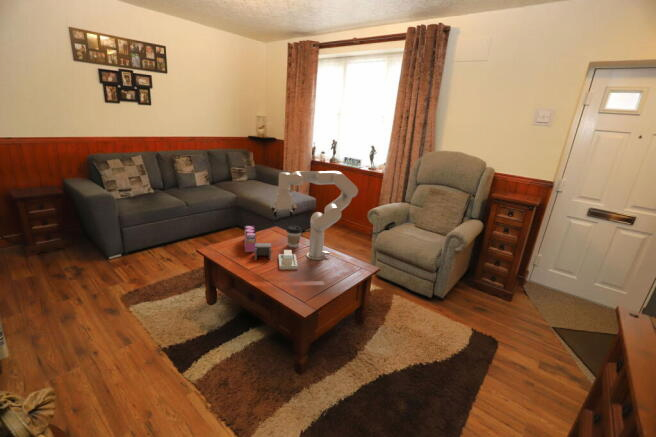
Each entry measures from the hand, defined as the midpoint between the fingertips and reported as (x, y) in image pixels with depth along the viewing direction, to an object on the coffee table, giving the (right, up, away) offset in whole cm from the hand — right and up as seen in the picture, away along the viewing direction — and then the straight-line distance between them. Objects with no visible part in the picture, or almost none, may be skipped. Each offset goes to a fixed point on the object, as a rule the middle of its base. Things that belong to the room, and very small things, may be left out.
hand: (283, 217), depth 206 cm
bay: (-14, -27, +5) cm, 31 cm away
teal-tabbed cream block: (+3, -29, -1) cm, 29 cm away
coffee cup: (+4, -22, +28) cm, 36 cm away
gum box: (-27, -21, +22) cm, 41 cm away
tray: (+3, -30, -1) cm, 30 cm away
